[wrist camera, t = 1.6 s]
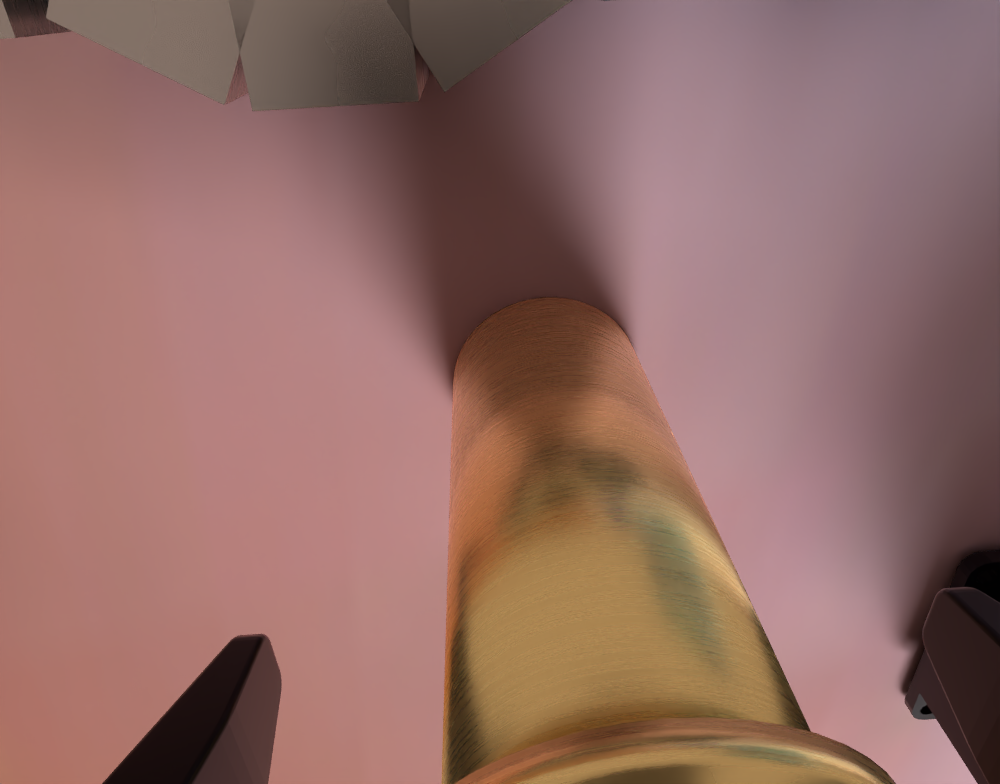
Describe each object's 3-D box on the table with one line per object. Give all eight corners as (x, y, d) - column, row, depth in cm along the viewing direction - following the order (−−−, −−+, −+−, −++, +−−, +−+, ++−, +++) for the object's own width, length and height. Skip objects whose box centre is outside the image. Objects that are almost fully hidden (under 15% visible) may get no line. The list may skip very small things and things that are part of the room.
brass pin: (669, 266, 14) (1018, 745, 5) (652, 467, 16) (865, 1014, 8) (418, 281, 14) (337, 793, 5) (441, 481, 16) (414, 1048, 8)
